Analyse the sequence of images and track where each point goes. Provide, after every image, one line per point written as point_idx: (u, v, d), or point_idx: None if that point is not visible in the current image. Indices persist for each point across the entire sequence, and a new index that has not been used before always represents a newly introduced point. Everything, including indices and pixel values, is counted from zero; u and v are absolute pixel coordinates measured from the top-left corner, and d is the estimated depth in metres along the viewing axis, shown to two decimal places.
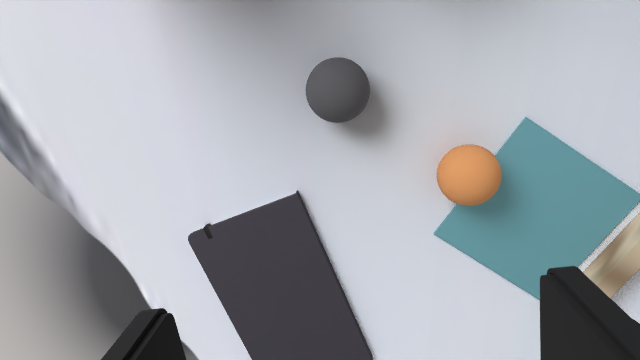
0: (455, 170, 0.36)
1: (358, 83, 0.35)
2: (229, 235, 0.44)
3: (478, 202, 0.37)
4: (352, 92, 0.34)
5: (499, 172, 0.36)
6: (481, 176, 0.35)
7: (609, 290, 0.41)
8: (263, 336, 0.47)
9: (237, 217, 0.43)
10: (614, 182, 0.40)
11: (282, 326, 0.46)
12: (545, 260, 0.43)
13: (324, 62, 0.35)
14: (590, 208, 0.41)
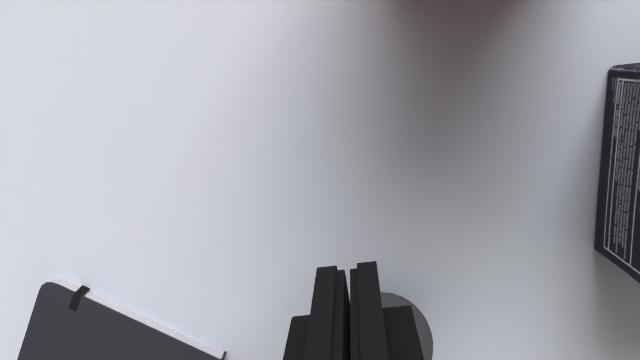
0: None
1: None
2: (98, 327, 0.28)
3: None
4: None
5: None
6: None
7: None
8: None
9: (128, 320, 0.28)
10: None
11: None
12: None
13: None
14: None
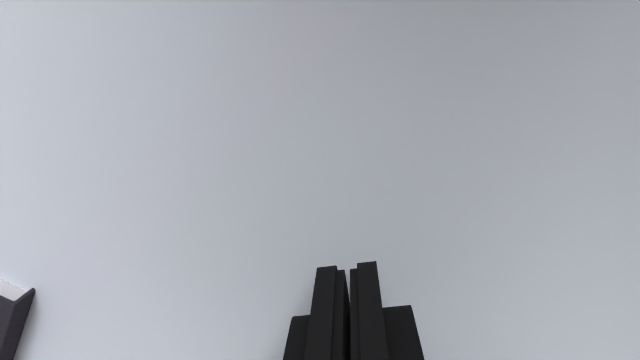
0: None
1: None
2: None
3: None
4: None
5: None
6: None
7: None
8: None
9: None
10: None
11: None
12: None
13: None
14: None
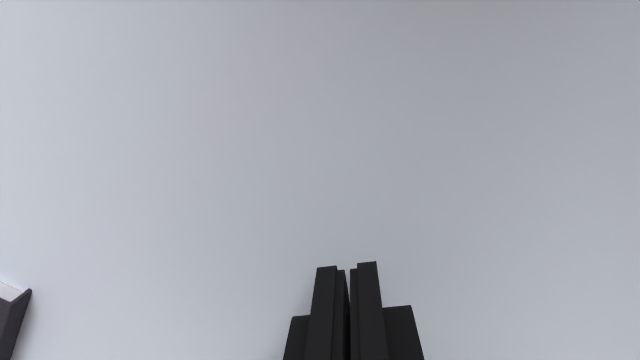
0: None
1: None
2: None
3: None
4: None
5: None
6: None
7: None
8: None
9: None
10: None
11: None
12: None
13: None
14: None
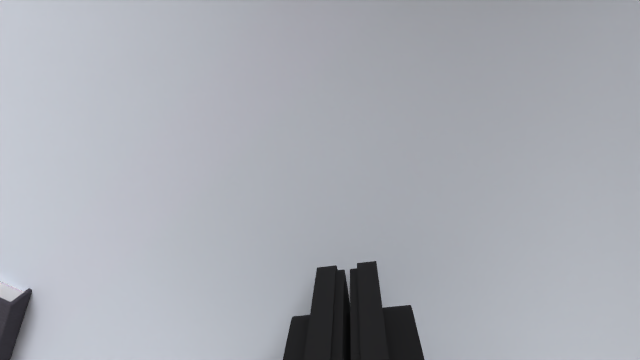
0: None
1: None
2: None
3: None
4: None
5: None
6: None
7: None
8: None
9: None
10: None
11: None
12: None
13: None
14: None
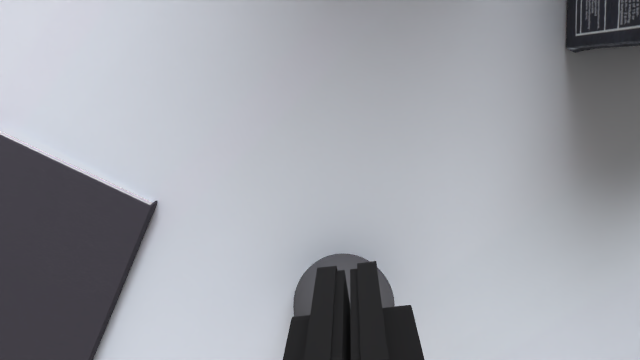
0: None
1: None
2: (5, 167, 0.24)
3: None
4: None
5: None
6: None
7: None
8: None
9: (40, 157, 0.24)
10: None
11: None
12: None
13: None
14: None
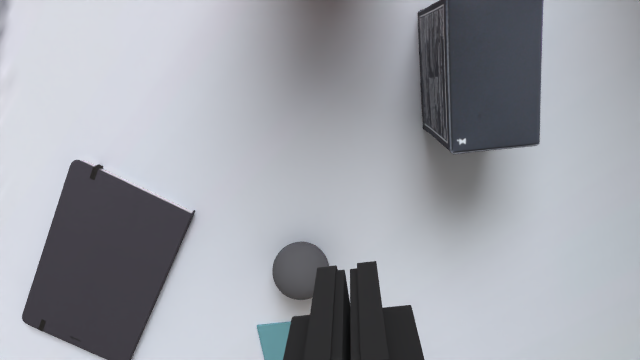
0: None
1: None
2: (109, 191, 0.42)
3: None
4: None
5: None
6: None
7: None
8: (58, 280, 0.45)
9: (129, 186, 0.42)
10: None
11: (82, 287, 0.46)
12: None
13: None
14: None
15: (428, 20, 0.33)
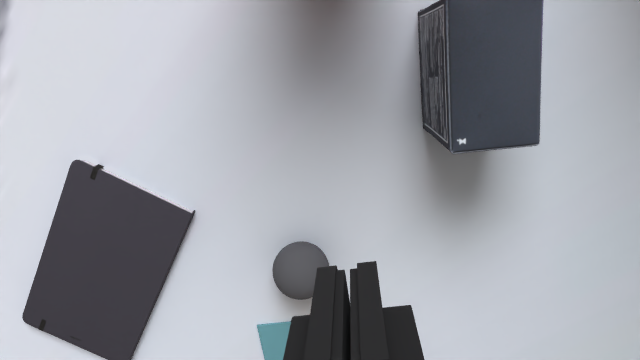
0: None
1: None
2: (109, 191, 0.42)
3: None
4: None
5: None
6: None
7: None
8: (59, 280, 0.46)
9: (129, 186, 0.42)
10: None
11: (82, 287, 0.46)
12: None
13: None
14: None
15: (428, 20, 0.33)
